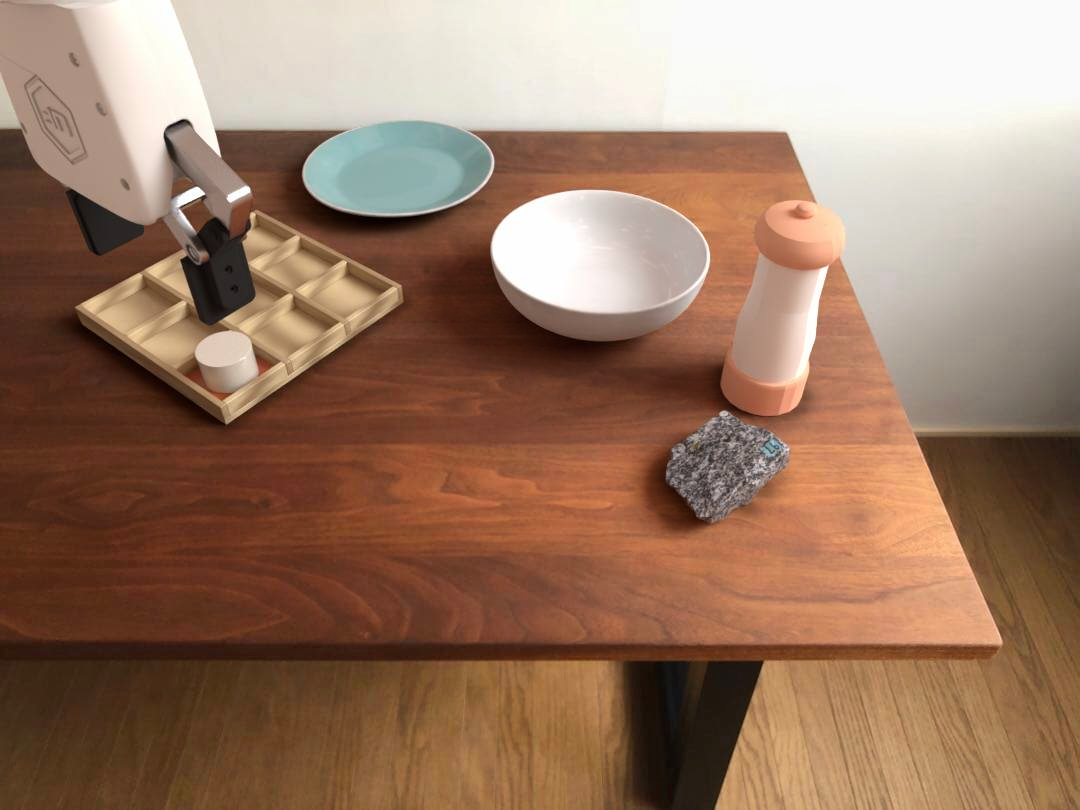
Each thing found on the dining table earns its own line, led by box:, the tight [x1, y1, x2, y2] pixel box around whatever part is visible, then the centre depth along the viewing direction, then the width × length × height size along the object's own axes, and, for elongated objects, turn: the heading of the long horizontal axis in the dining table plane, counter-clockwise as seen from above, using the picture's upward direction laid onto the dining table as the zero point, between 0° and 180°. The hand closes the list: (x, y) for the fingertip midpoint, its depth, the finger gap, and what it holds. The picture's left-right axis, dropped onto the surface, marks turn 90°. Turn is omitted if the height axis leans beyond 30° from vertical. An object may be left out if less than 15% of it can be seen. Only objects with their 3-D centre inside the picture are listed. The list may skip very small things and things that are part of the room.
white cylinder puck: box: [195, 331, 259, 393], centre depth 79 cm, size 5×5×3 cm
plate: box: [301, 119, 495, 218], centre depth 104 cm, size 22×22×3 cm
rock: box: [664, 409, 792, 525], centre depth 72 cm, size 8×10×4 cm
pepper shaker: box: [720, 199, 847, 417], centre depth 74 cm, size 7×7×19 cm
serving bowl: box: [489, 189, 711, 342], centre depth 87 cm, size 21×21×7 cm
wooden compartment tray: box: [74, 209, 404, 426], centre depth 87 cm, size 22×22×2 cm
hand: (171, 275), depth 48 cm, fingers open, 9 cm apart
